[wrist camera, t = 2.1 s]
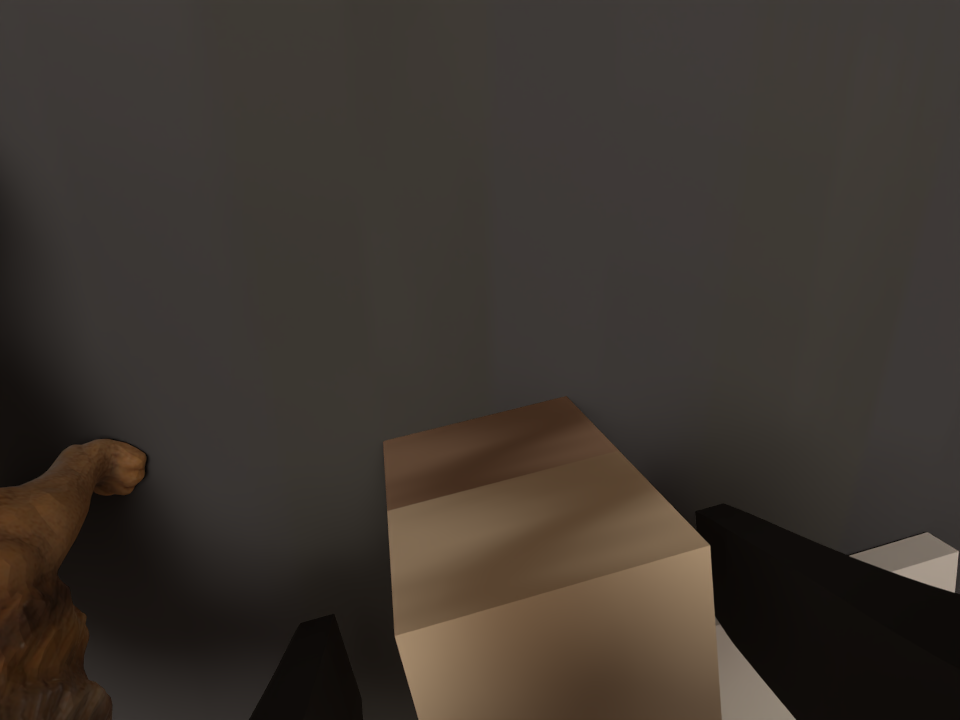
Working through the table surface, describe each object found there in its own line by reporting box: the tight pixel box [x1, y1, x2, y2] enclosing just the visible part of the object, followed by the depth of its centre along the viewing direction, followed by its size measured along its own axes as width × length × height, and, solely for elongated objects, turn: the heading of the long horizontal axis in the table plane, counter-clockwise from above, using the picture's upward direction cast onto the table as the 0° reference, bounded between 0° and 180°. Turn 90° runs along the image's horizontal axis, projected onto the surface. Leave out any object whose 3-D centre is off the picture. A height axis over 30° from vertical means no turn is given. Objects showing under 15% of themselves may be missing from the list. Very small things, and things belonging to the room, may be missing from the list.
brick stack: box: [383, 396, 722, 720], centre depth 12 cm, size 5×5×6 cm
